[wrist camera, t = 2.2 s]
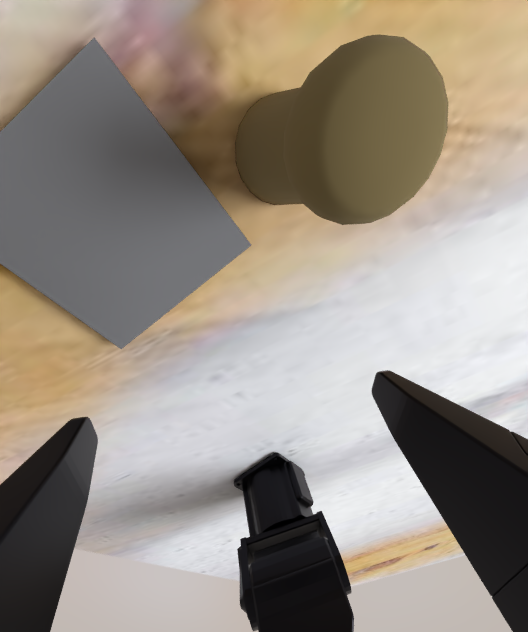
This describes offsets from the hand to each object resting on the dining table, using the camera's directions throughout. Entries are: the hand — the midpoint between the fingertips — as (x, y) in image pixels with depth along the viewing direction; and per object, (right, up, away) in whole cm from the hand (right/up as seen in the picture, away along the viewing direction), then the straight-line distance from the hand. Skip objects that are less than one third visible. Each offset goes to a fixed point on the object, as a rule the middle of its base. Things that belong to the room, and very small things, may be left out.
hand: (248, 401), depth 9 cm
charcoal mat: (-9, +8, +8) cm, 15 cm away
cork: (+2, +13, +9) cm, 16 cm away
